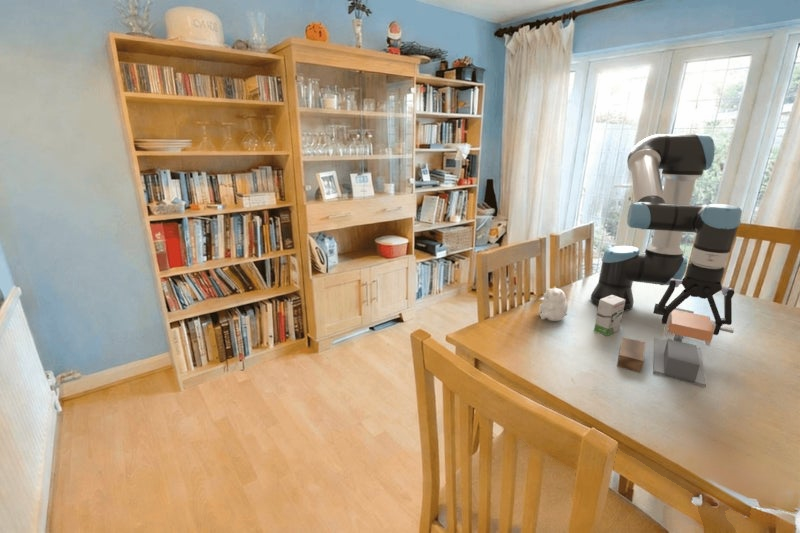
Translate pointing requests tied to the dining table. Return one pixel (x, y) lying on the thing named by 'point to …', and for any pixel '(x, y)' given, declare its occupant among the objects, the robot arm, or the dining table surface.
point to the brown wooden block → (631, 354)
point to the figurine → (553, 305)
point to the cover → (691, 325)
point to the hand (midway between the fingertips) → (685, 338)
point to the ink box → (609, 315)
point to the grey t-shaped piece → (678, 337)
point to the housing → (678, 361)
